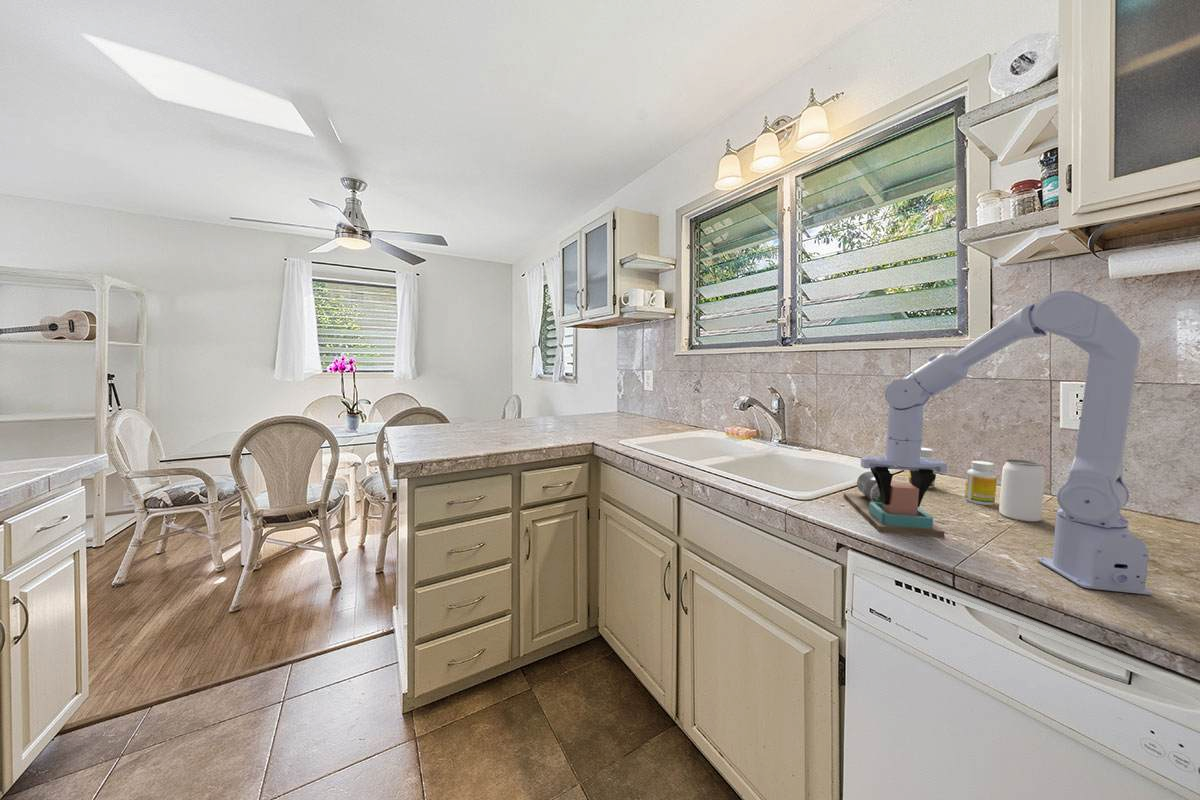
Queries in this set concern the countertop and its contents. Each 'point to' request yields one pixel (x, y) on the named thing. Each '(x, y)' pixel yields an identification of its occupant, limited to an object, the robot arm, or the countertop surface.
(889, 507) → the block
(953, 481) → the countertop surface
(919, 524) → the teal square tray
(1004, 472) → the can
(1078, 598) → the countertop surface
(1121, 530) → the robot arm
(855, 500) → the base plate
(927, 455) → the supplement bottle
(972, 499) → the supplement bottle
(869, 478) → the motor
